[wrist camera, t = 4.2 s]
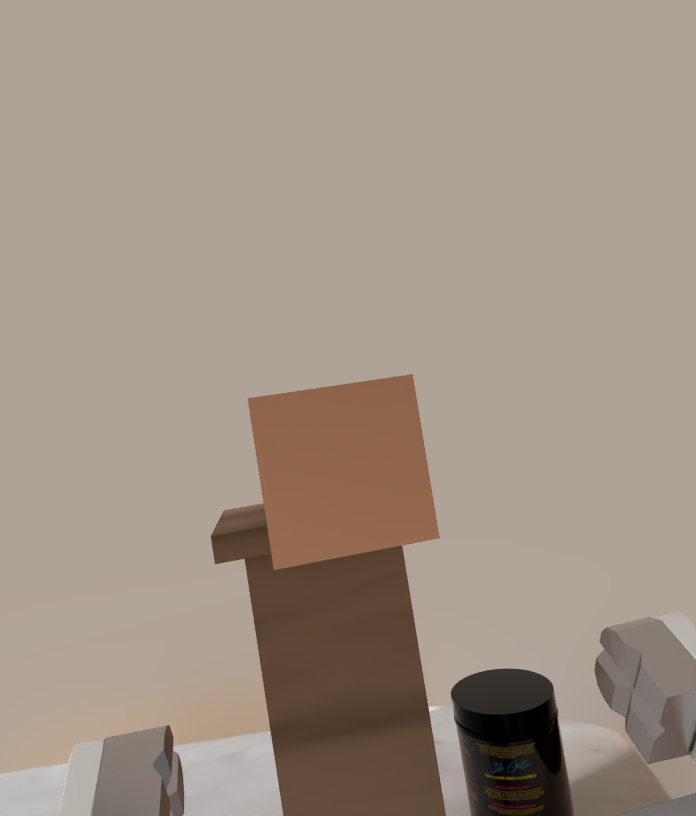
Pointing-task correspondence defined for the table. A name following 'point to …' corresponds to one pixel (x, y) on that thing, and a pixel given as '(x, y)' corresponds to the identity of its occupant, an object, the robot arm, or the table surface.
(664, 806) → the slate pillar
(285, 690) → the walnut tower
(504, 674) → the supplement container
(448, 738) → the table surface
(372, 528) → the terracotta beam
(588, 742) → the table surface
